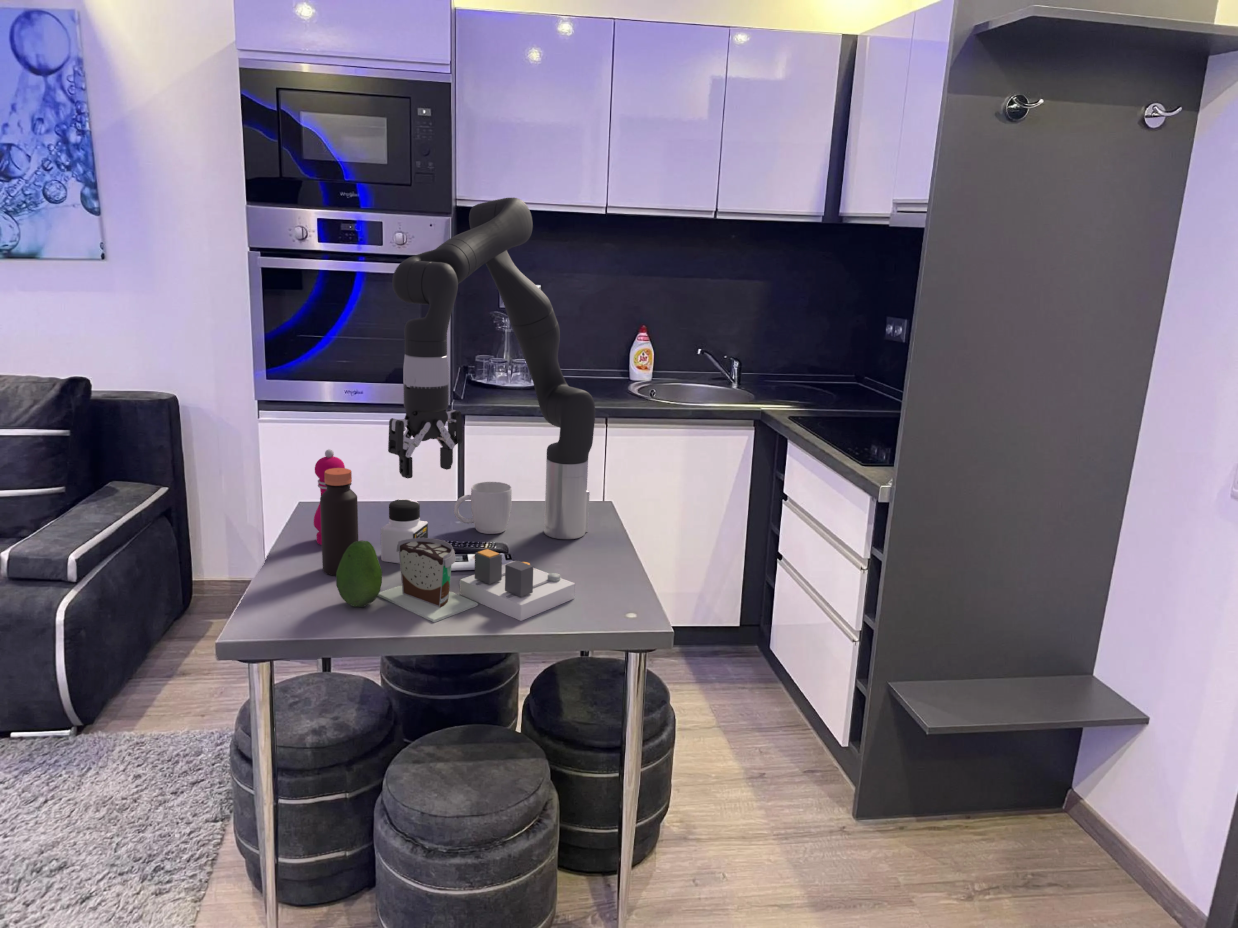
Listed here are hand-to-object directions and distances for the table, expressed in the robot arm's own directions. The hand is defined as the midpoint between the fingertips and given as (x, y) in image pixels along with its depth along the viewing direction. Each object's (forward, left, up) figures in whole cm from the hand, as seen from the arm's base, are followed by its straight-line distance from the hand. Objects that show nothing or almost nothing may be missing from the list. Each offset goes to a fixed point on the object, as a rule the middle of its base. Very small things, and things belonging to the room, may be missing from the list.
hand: (426, 472), depth 157 cm
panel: (-13, +10, -24) cm, 29 cm away
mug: (-34, -22, -24) cm, 47 cm away
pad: (0, 0, -24) cm, 24 cm away
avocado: (+9, -7, -24) cm, 27 cm away
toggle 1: (-9, +6, -21) cm, 24 cm away
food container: (-2, 0, -24) cm, 24 cm away
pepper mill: (-6, -38, -24) cm, 45 cm away
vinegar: (+2, -23, -24) cm, 34 cm away
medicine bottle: (-11, -20, -24) cm, 33 cm away
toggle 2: (-9, +14, -21) cm, 27 cm away
